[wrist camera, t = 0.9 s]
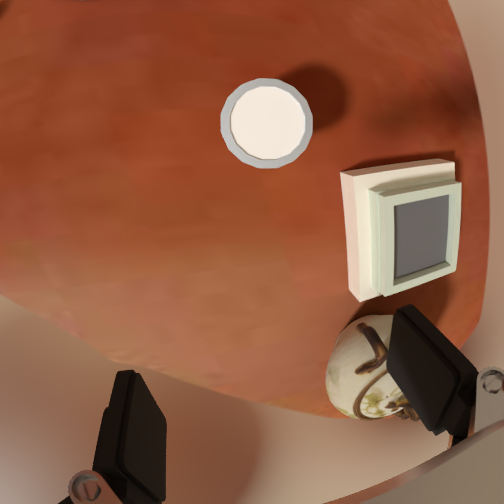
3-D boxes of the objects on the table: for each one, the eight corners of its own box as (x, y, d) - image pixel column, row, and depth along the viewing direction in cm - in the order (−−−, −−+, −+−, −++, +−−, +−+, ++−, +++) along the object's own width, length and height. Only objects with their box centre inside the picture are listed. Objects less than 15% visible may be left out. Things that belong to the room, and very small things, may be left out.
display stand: (340, 172, 30) (367, 181, 24) (438, 158, 31) (470, 165, 25) (348, 289, 35) (370, 314, 30) (436, 261, 36) (462, 279, 31)
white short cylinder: (209, 98, 25) (210, 86, 19) (281, 85, 26) (304, 72, 19) (224, 168, 28) (231, 178, 22) (294, 153, 28) (320, 159, 22)
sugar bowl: (416, 349, 42) (467, 411, 28) (338, 400, 43) (374, 473, 30) (388, 257, 34) (469, 323, 21) (283, 323, 36) (325, 422, 22)
